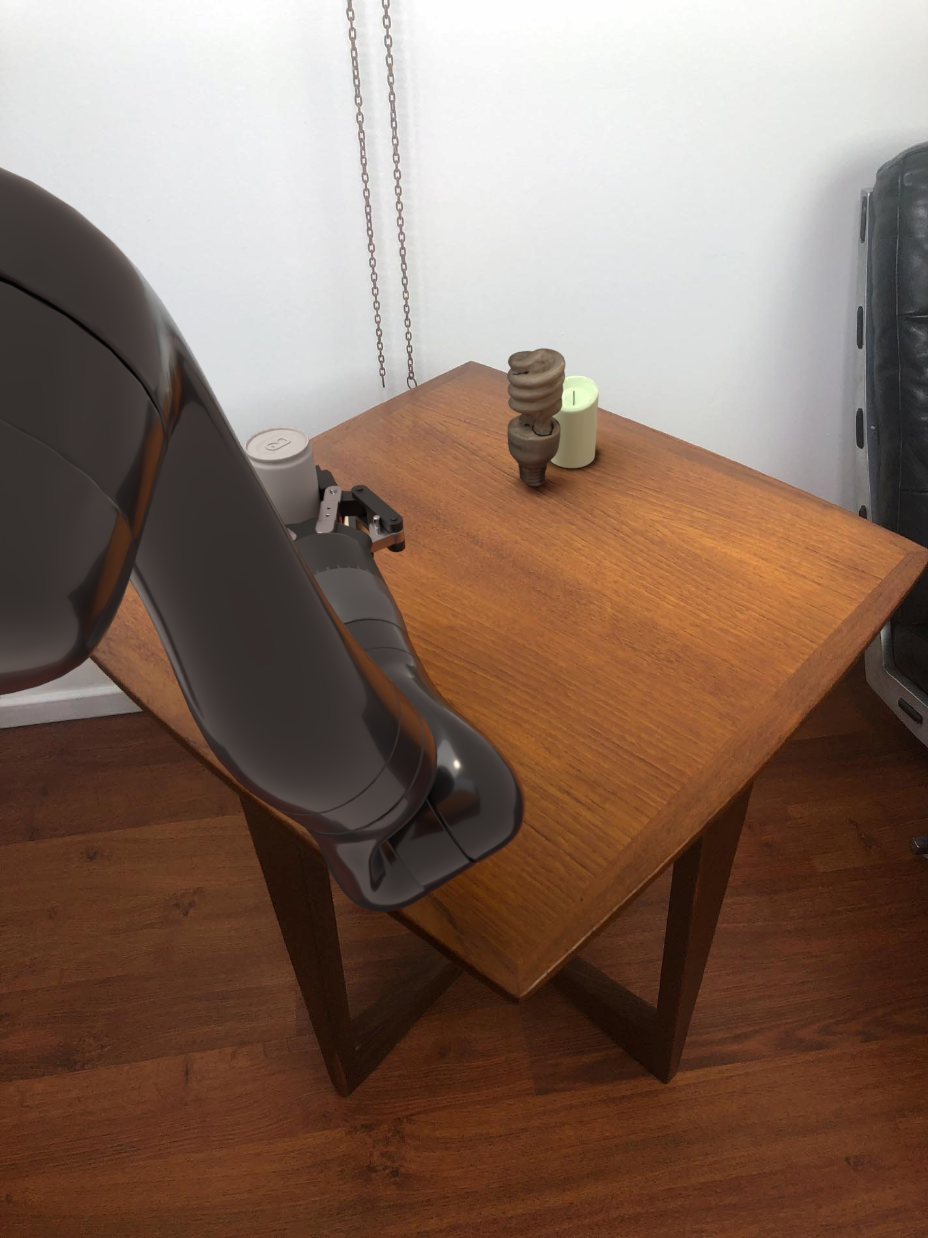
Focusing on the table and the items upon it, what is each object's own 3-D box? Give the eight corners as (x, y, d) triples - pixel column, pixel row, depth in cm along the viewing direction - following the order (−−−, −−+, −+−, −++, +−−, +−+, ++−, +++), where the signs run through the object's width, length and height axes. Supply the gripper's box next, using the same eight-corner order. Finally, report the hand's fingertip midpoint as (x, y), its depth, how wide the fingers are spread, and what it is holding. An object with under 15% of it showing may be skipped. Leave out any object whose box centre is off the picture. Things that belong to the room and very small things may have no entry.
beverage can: (258, 579, 75) (227, 444, 67) (306, 550, 78) (281, 418, 70) (297, 604, 73) (270, 468, 65) (345, 574, 75) (325, 440, 67)
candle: (585, 472, 100) (589, 402, 95) (540, 463, 102) (542, 393, 97) (601, 449, 104) (605, 379, 98) (557, 440, 106) (559, 371, 100)
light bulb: (572, 484, 99) (578, 348, 89) (539, 508, 96) (542, 370, 86) (529, 466, 102) (530, 332, 92) (496, 489, 99) (493, 353, 89)
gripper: (441, 544, 60) (365, 419, 72) (211, 602, 56) (172, 461, 68) (447, 634, 65) (375, 503, 77) (236, 693, 61) (195, 546, 73)
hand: (279, 484), depth 73 cm, fingers closed on beverage can, 5 cm apart
